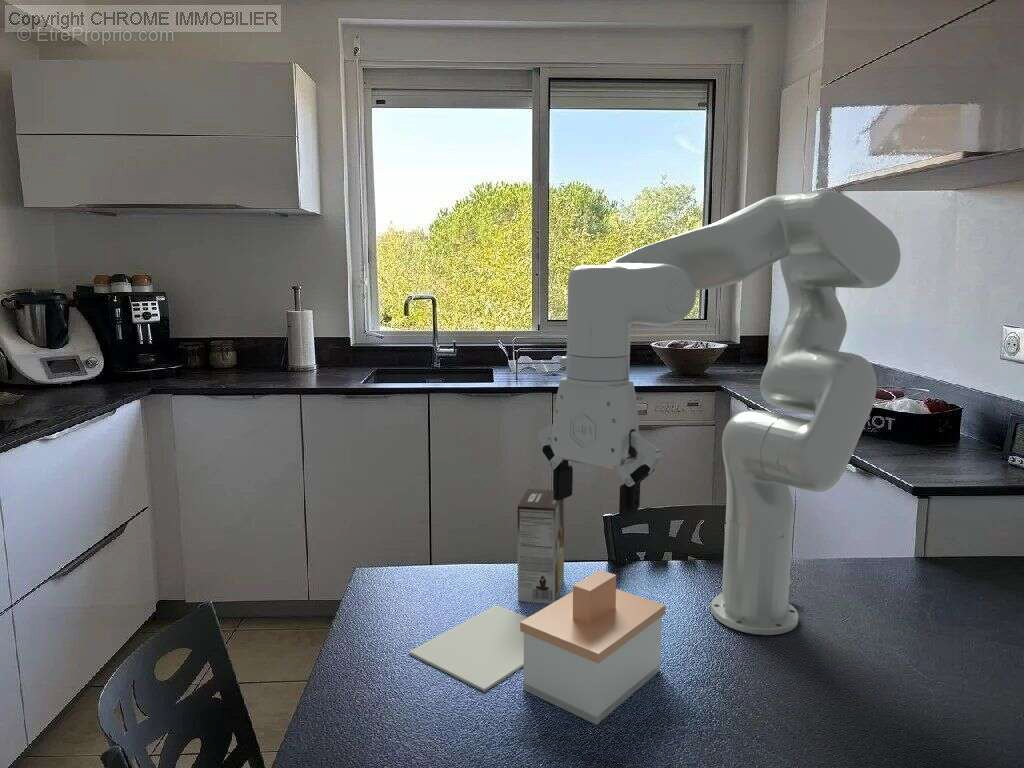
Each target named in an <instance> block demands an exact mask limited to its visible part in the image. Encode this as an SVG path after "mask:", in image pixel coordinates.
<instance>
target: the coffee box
mask: <svg viewBox="0 0 1024 768" xmlns="http://www.w3.org/2000/svg"><path fill="white" fill-rule="evenodd" d="M564 565H565V498H564V499H562V500H559V501H557V500H554V490H553V489H540V488H539V489H536V488H534V489H533V488H528V489H527V490H526V491H525V493H524V495H523V496H522V499H520V501H519V503H518V504H517V600H518V602H521V601H523V602H524V603H532V602H533V603H534V604H535V603H536V604H545V605H547V604H548V605H550V604H552V603H554V602H555V601H557V600H559V596H560V593H561V590H562V587H563V584H564V581H565V574H564V573H565V571H564V570H565V566H564Z"/></svg>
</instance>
